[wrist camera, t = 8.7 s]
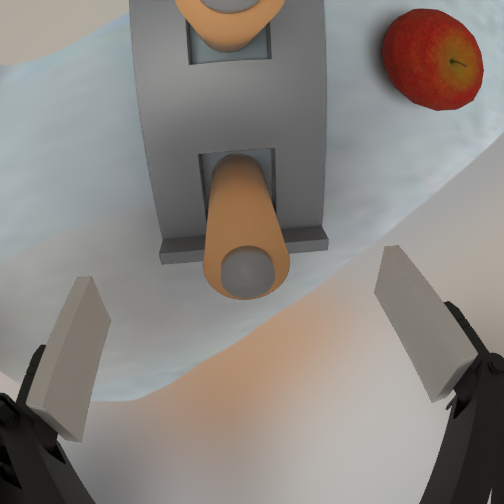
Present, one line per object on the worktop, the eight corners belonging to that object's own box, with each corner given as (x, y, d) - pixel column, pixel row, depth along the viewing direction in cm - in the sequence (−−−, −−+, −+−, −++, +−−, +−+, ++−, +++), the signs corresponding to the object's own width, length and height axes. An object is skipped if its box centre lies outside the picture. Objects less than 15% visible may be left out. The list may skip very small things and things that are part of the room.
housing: (168, 237, 27) (141, 354, 16) (135, -16, 15) (57, -74, 4) (315, 225, 27) (366, 333, 17) (313, -28, 15) (393, -93, 4)
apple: (452, 56, 19) (514, 67, 12) (413, 118, 22) (470, 143, 16) (391, -3, 16) (449, -17, 10) (345, 62, 20) (396, 64, 13)
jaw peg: (209, 156, 23) (196, 243, 13) (261, 152, 23) (294, 235, 13) (214, 202, 25) (209, 313, 15) (262, 198, 26) (291, 306, 15)
